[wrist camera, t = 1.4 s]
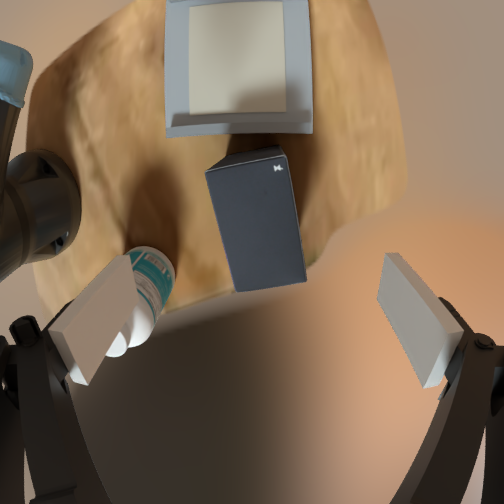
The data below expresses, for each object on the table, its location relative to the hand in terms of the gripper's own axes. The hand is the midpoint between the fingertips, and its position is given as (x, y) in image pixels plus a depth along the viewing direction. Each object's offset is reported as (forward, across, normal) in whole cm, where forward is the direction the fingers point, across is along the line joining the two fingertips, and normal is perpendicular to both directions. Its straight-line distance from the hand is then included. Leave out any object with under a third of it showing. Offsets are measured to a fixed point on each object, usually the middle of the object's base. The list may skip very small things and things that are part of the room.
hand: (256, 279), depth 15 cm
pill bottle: (+19, -14, -9) cm, 25 cm away
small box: (+19, 0, 0) cm, 19 cm away
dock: (+18, -2, +15) cm, 24 cm away
